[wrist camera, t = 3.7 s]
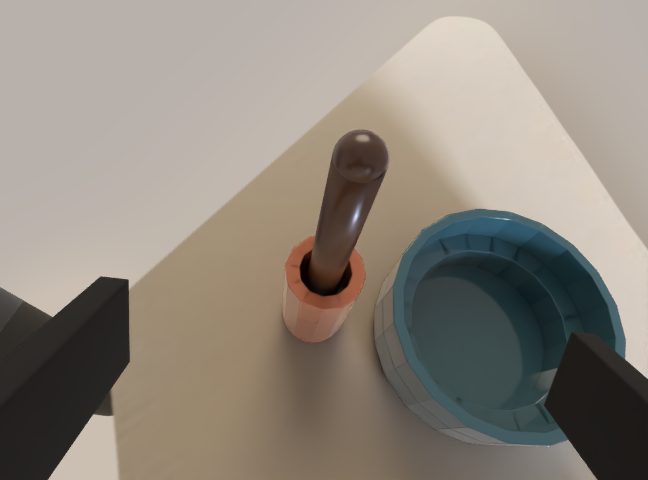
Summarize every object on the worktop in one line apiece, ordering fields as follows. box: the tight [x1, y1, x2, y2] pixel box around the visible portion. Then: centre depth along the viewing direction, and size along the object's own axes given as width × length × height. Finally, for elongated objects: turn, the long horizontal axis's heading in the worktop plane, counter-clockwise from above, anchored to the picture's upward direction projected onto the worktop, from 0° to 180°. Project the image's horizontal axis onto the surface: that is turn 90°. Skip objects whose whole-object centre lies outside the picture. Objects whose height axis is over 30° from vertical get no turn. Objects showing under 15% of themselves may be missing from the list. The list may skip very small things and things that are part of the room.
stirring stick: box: [305, 130, 389, 296], centre depth 23 cm, size 2×2×20 cm
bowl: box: [374, 209, 626, 446], centre depth 30 cm, size 15×15×6 cm
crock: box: [282, 236, 365, 343], centre depth 29 cm, size 5×5×9 cm
